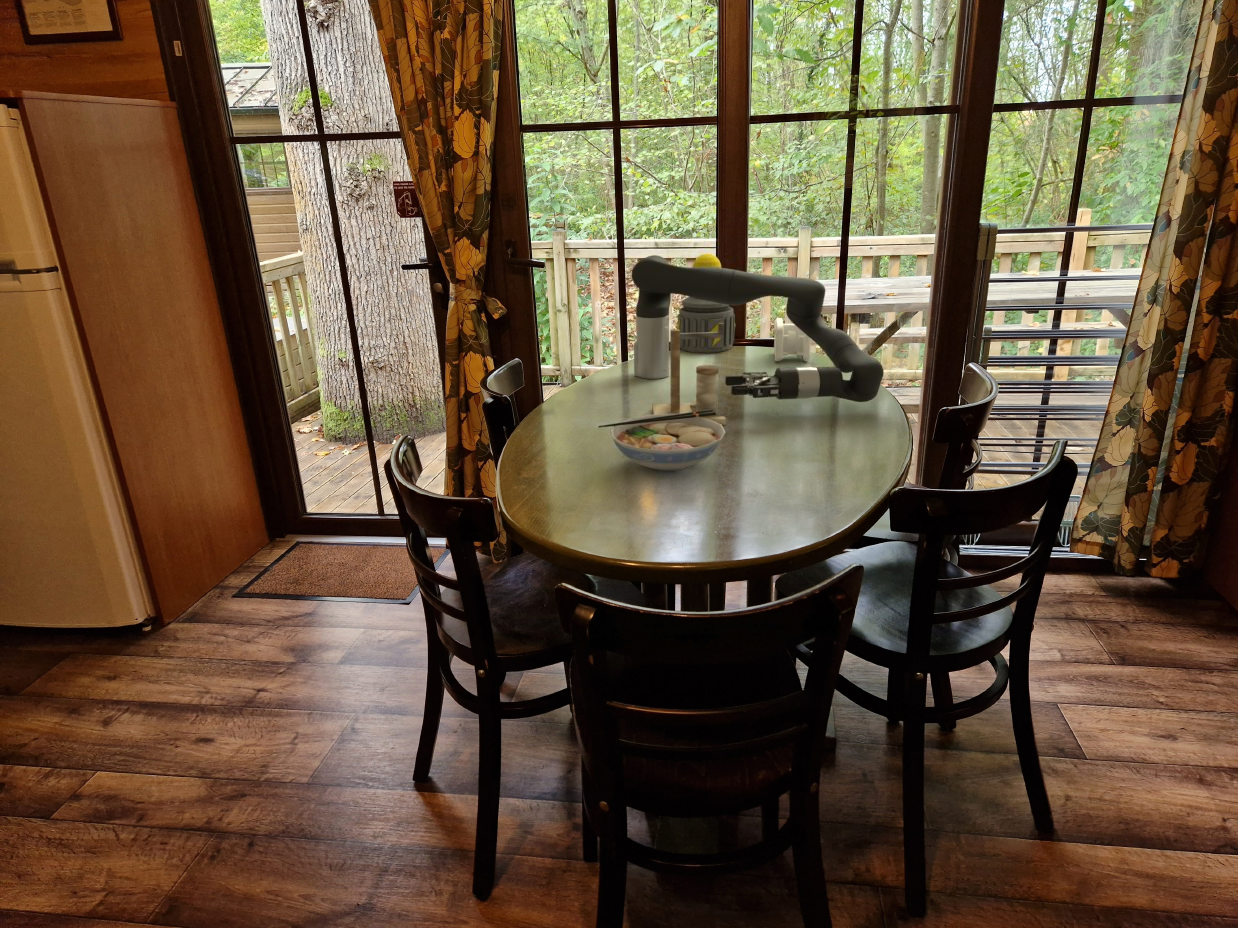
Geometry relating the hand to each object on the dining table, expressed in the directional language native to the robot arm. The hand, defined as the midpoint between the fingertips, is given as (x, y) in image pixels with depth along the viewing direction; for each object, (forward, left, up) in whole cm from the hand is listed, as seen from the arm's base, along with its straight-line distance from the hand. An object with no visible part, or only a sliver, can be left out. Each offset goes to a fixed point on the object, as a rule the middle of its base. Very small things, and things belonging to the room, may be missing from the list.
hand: (728, 385), depth 185 cm
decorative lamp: (-33, +68, -8) cm, 76 cm away
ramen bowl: (+1, -36, -8) cm, 37 cm away
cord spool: (-4, -2, -7) cm, 9 cm away
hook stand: (-8, -5, -7) cm, 12 cm away
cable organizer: (-3, +63, -8) cm, 64 cm away
